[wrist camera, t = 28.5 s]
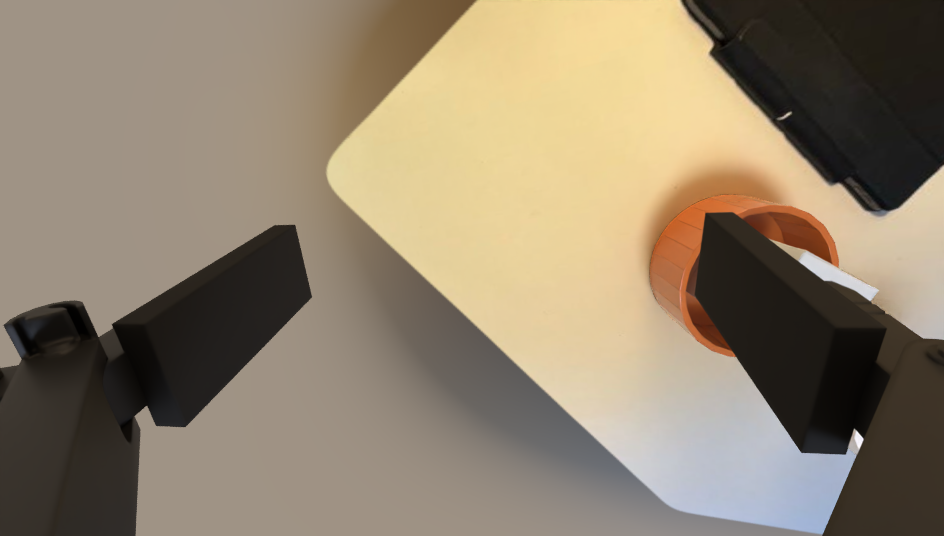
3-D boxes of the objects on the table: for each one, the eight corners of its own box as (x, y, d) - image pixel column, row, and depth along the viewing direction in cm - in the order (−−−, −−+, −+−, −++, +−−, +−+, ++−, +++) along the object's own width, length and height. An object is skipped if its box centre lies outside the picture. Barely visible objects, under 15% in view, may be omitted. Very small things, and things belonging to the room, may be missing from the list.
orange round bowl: (644, 209, 45) (676, 222, 39) (788, 181, 45) (843, 190, 39) (654, 339, 49) (683, 369, 43) (785, 314, 49) (834, 341, 43)
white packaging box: (728, 309, 48) (821, 371, 36) (669, 281, 47) (745, 335, 35) (770, 247, 46) (884, 290, 34) (710, 216, 45) (806, 249, 33)
